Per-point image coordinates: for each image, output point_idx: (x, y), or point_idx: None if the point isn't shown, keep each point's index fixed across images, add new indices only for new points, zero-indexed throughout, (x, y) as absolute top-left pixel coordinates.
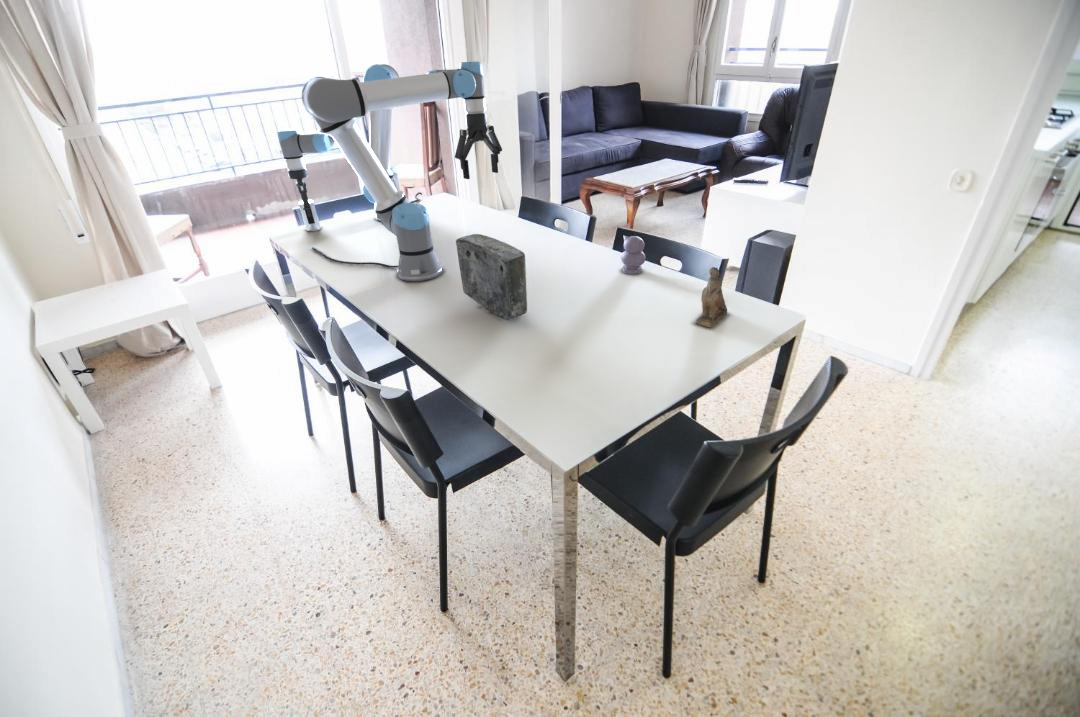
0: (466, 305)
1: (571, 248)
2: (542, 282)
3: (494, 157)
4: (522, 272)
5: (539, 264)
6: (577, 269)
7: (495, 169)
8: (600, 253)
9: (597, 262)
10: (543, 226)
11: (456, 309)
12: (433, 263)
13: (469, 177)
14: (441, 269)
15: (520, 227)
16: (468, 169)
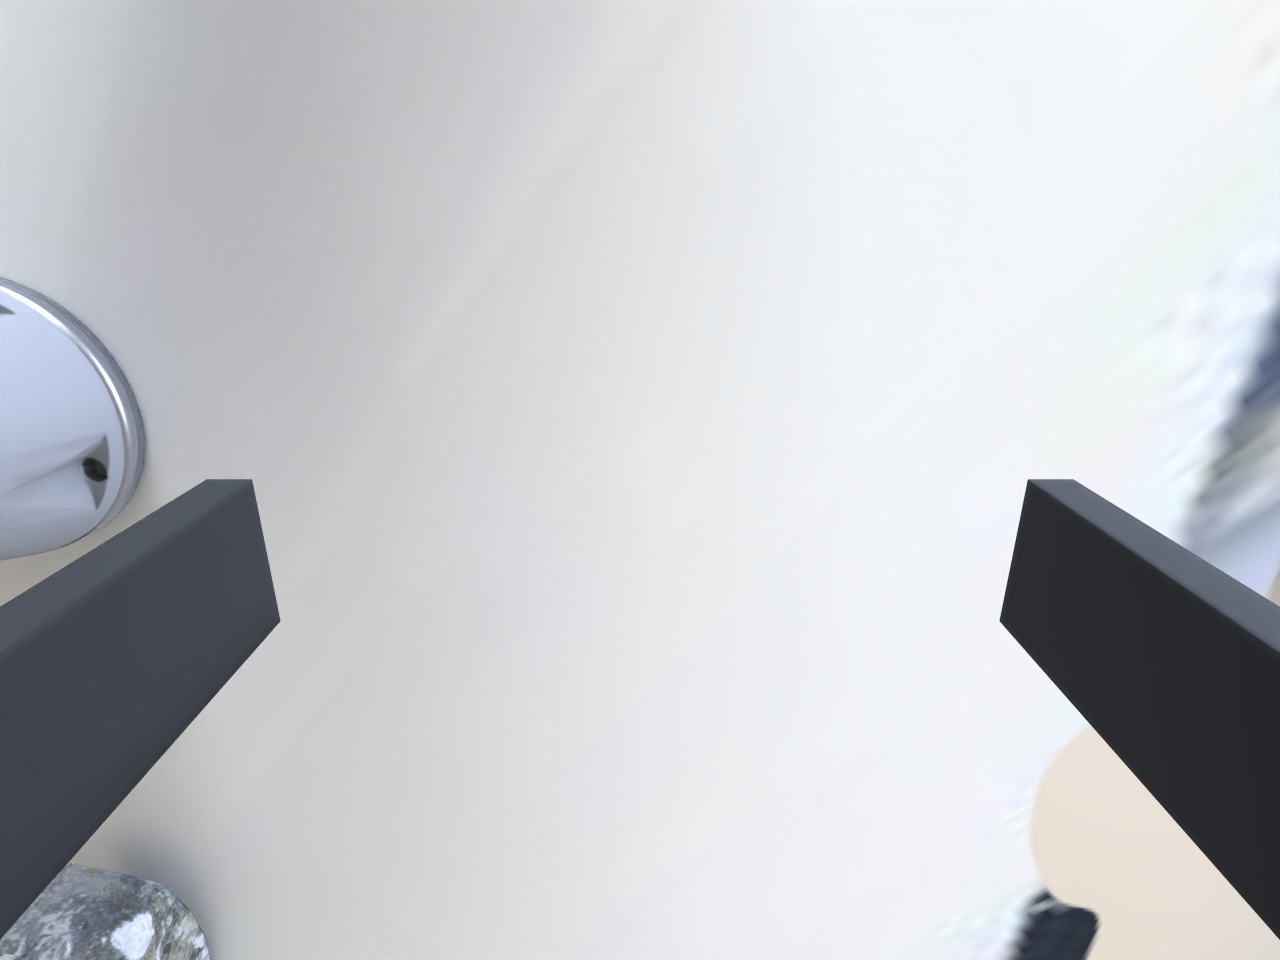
0: None
1: (932, 751)
2: (478, 920)
3: (1252, 854)
4: None
5: (626, 784)
6: (699, 931)
7: (1042, 628)
8: (948, 888)
9: (830, 940)
10: (1271, 301)
11: None
12: (5, 558)
13: (261, 637)
14: (116, 508)
15: (1160, 155)
16: (154, 751)
